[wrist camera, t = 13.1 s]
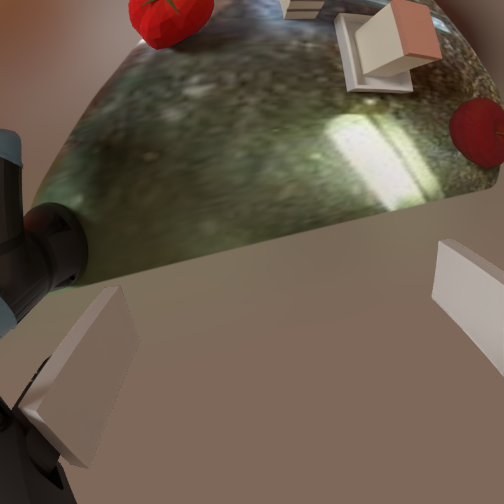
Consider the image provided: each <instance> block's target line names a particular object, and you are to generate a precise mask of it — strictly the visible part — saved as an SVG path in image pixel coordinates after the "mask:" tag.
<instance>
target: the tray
mask: <svg viewBox="0 0 504 504" xmlns="http://www.w3.org/2000/svg"><path fill="white" fill-rule="evenodd" d="M372 17H373V16H368V15H359V14H348V13H339V14H338V15H337V16H336V18H335V19H334V20H333V21H334V25H335V29H336V34H337V38H338V43H339V48H340V52H341V58H342V63H343V68H344V74H345V79H346V85H347V92H385V93H402V94H404V93H408V92H413V87H412V81H411V76H410V70H407V71H404V72H401V73H398V74H396V75H393V76H390V77H381V76H362V72H361V67H360V62H359V57H358V52H357V47H356V42H355V38H354V33H355V32H356V31H357V30H358V29H359V28H361V27H362V26H363V25H364V24H365V23H366V22H367V21H369V20H370V19H371V18H372Z"/></svg>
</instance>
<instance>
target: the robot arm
mask: <svg viewBox="0 0 504 504" xmlns="http://www.w3.org/2000/svg"><path fill="white" fill-rule="evenodd" d="M22 169H23V164H22V162H21V139H20V137H19V135H18V134H17V133H16V132H14V131H11V130H7V129H0V339H1V338H2V337H4V336H5V335H6V334H7V333H8V332H9V331H10V330H12V329H14V328H15V327H16V325H17V324H18V323H19V322H20V321H21V320H22V319H23V318H24V317H25V316H26V315H27V314H28V313H29V312H30V310H31V309H32V308H33V307H34V306H35V305H36V304H37V303H38V302H39V301H40V300H41V299H42V298H43V297H44V296H45V295H46V294H47V293H49V292H53V291H56V290H59V289H63V288H66V287H68V286H70V285H72V284H73V283H74V282H75V281H76V280H77V279H78V278H79V277H80V276H81V275H82V274H83V272H84V270H85V268H86V265H87V260H88V247H87V241H86V237H85V234H84V232H83V229H82V227H81V225H80V224H79V222H78V220H77V219H76V218H75V216H74V215H73V214H72V213H71V212H70V211H69V210H67V209H66V208H65V207H63V206H61V205H59V204H56V203H43V204H41V205H38V206H36V207H34V208H32V209H31V210H29V211H28V212H27V213H26V214H25V216H24V217H23V205H22V204H23V203H22ZM432 298H433V299H434V300H435V301H436V302H437V303H438V304H439V305H440V307H441V308H443V310H445V312H446V313H447V314H448V315H449V316H450V317H451V318H452V319H453V320H454V321H455V322H456V323H457V324H458V325H459V326H460V327H461V328H462V329H463V331H464V332H465V333H466V334H467V335H468V336H469V337H470V338H471V339H472V340H473V342H474V343H475V344H476V345H477V346H478V347H479V348H480V349H481V351H482V352H483V353H484V354H485V355H486V356H487V358H488V359H489V360H490V361H491V362H492V363H493V365H494V366H495V367H496V368H497V369H498V371H499V372H500V373H501V374H502V375H503V377H504V272H503V271H502V270H500V269H499V268H497V267H496V266H494V265H493V264H491V263H490V262H488V261H487V260H485V259H484V258H482V257H481V256H479V255H478V254H476V253H475V252H473V251H471V250H470V249H468V248H467V247H465V246H463V245H462V244H460V243H458V242H457V241H455V240H453V239H445V240H439V245H438V254H437V263H436V271H435V278H434V285H433V292H432ZM140 342H141V340H140V337H139V335H138V332H137V330H136V327H135V325H134V322H133V320H132V317H131V314H130V312H129V309H128V306H127V304H126V301H125V298H124V295H123V292H122V290H121V287H120V286H112V287H105V288H104V289H103V290H102V291H101V292H100V293H99V295H98V296H97V297H96V298H95V300H94V301H93V302H92V303H91V305H90V306H89V307H88V308H87V310H86V311H85V312H84V313H83V315H82V316H81V317H80V318H79V320H78V321H77V322H76V324H75V325H74V326H73V328H72V329H71V330H70V331H69V333H68V334H67V335H66V337H65V338H64V339H63V341H62V342H61V344H60V345H59V346H58V348H57V349H56V350H55V352H54V353H53V354H52V355H51V356H50V357H49V358H47V359H46V360H45V361H44V362H43V363H42V365H41V366H40V368H39V369H38V370H37V374H36V373H35V375H34V376H33V378H32V379H31V380H32V381H31V382H29V384H28V385H27V387H26V388H25V390H24V391H23V393H22V394H21V396H20V397H19V399H18V400H17V402H16V404H15V405H14V407H13V408H12V410H10V408H9V407H8V406H7V405H6V403H5V402H4V401H3V399H2V398H1V397H0V504H77V502H76V500H75V498H74V495H73V493H72V490H71V488H70V485H69V483H68V480H67V477H66V475H65V472H64V469H63V467H62V465H61V464H60V463H59V462H58V459H59V456H60V455H62V457H64V458H65V459H66V460H67V461H68V462H69V463H70V464H71V465H74V466H78V467H82V468H86V469H90V468H91V465H92V462H93V459H94V456H95V453H96V450H97V448H98V445H99V442H100V440H101V437H102V434H103V431H104V429H105V426H106V423H107V421H108V418H109V416H110V413H111V410H112V408H113V406H114V403H115V401H116V398H117V396H118V393H119V391H120V388H121V386H122V384H123V381H124V379H125V376H126V374H127V372H128V369H129V367H130V365H131V362H132V360H133V358H134V355H135V353H136V351H137V349H138V346H139V344H140Z"/></svg>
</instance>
